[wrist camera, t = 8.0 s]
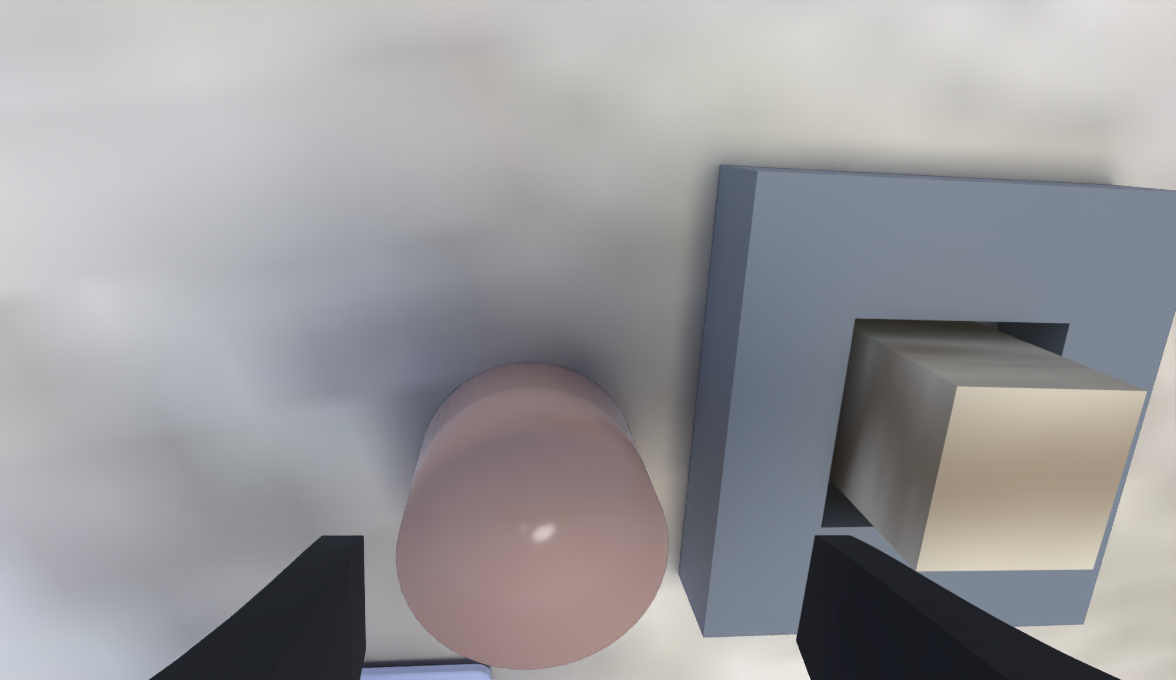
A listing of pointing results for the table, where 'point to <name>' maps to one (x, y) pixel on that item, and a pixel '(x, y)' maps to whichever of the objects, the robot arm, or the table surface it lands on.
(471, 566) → the round peg
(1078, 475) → the square peg
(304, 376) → the table surface
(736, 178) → the socket block
